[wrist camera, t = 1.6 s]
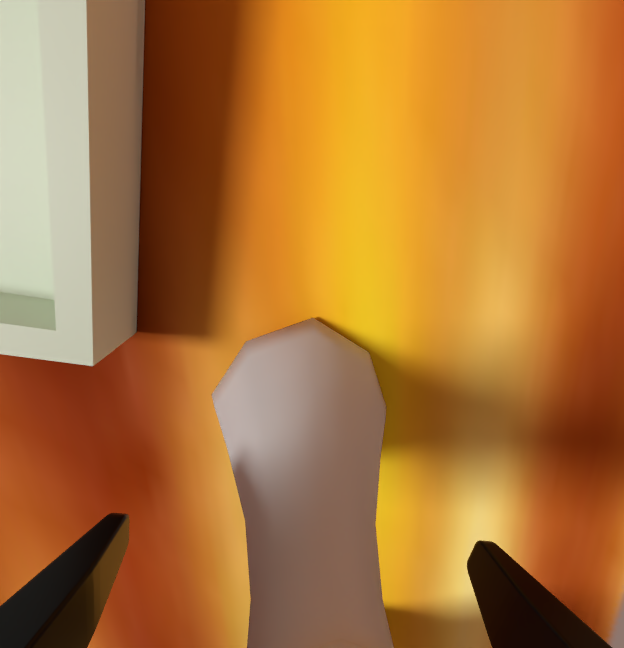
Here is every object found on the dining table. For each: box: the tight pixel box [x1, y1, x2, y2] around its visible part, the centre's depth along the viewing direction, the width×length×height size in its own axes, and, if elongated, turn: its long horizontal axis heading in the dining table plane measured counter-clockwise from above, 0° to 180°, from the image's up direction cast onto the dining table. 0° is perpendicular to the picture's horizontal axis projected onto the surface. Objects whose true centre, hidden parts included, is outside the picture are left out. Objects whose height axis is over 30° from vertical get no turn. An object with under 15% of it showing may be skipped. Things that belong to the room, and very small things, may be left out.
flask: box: [212, 318, 394, 648], centre depth 10 cm, size 7×7×10 cm
